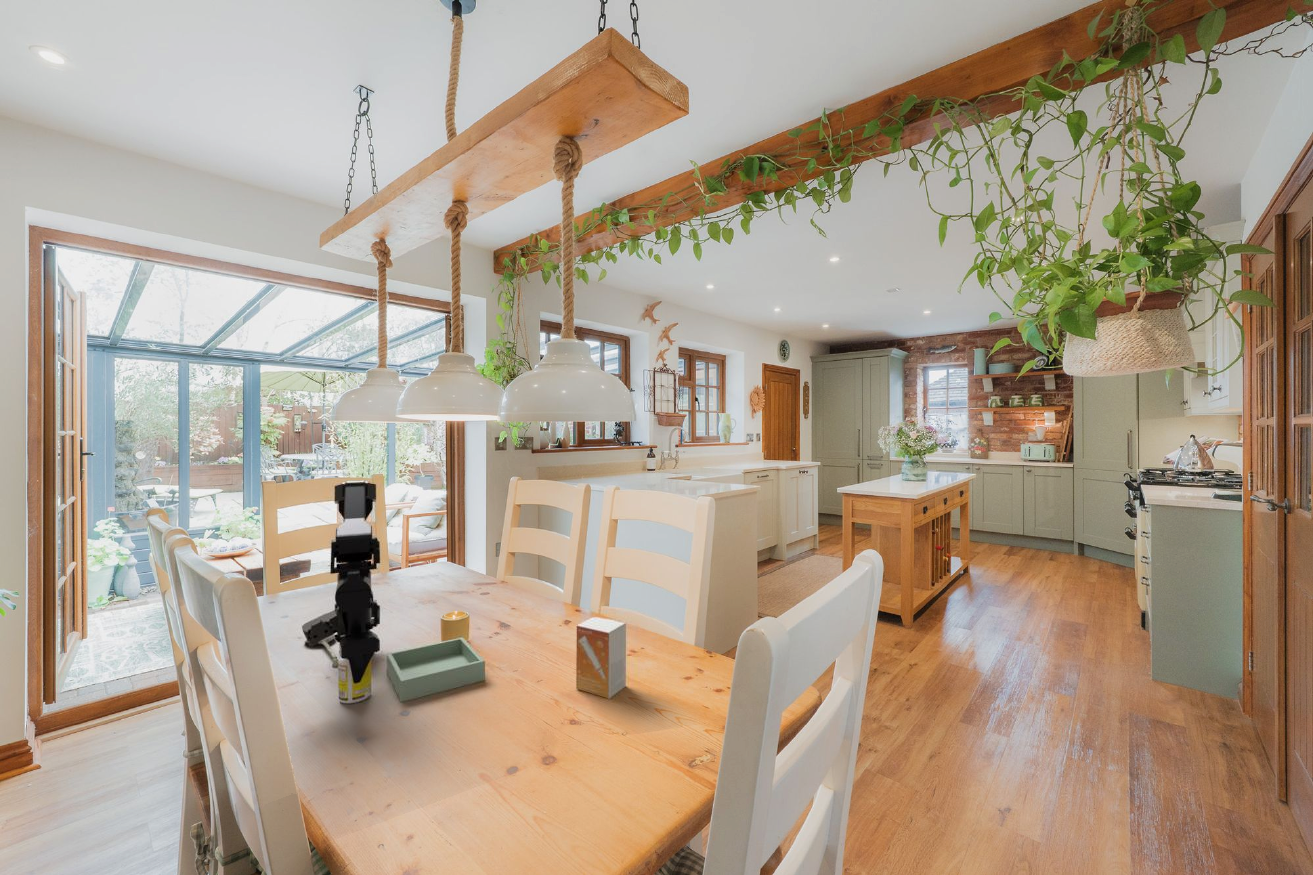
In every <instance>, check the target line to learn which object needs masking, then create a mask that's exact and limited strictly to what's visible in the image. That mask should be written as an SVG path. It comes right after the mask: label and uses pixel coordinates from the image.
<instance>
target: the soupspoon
mask: <svg viewBox="0 0 1313 875" xmlns="http://www.w3.org/2000/svg"><path fill="white" fill-rule="evenodd" d="M334 635H335V634H333V635H331V636H329V637H327V638H325V639H323V640H321V641H319V643H317V645H318V644H319V645H323V646H324V647H325V648H326V649H327V651H328V652H329V654H330V655H331V657H332V658H331V659H332V662H333V663H332V665H331V666H332V668H334V667H338V660H339V658H338V656H336V654H335V652H334V650H333V649H332V648H331V646H330V644H329V643H330V642H331V641H333V640H334V639H335V637H334ZM304 643H305V644H306V643H307V644H309V643H308V641H307V639H306V640H305V641H304Z"/></svg>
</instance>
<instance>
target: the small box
mask: <svg viewBox="0 0 1313 875" xmlns="http://www.w3.org/2000/svg"><path fill="white" fill-rule="evenodd" d="M575 658H576V667H575V668H576V669H575V670H576V671H575V673H576V676H575V677H576V678H575V680H576V681H575V682H576V684H575V689H576V690H580V691H582V692H586V693H590V694H593V695H597V696H600V697H603V698H605V699H608V700H609V699H610V698H612V697H613V696H614V695H616V694H618V693H619V692H620V691H621V690H622V689H623V690H624V688H625V687H626V686H627V623H625V622H621V621H617V620H613V619H609V618H603V617H597V616H593V617H591V618H588V619H587V620H584V621H582V622H581V623H579V624H577V625H576V657H575Z"/></svg>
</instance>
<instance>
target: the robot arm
mask: <svg viewBox="0 0 1313 875" xmlns="http://www.w3.org/2000/svg"><path fill="white" fill-rule="evenodd" d="M333 501H334V504H335V505H338V507H337V508H338V513H339V514H340V515H341V517H342V518H343V522H342V524H340V525H339V526H338V527H337V528H336V529H335V538H334V539H331V541H330V542H331V543H330V544H331V546H330V568H329V569H330V575H334V574H337V575H336V576H337V581H336V582H337V585H336V588H335V594H334V601H335V603H334V610H331V611H329V612H327V613H324V614H322V615H320V616H317V617H316V618H313V619H312V620H309V621H307V622H305V623H304V624H303V625H302V626H301V630H302V633H303V634H304V637H305V639H306V640H307V641H308V643H307V644H308V645H309V646H311V647H312V646H315V645H318V643H319V641H321V640H323V639H325V638H327V637H329V636H331V635H333V634H334V637H335V638H334V639H335V641H336V642H338V643H339V644H338V645H339V648H338V649H339V650H338V652H339V656H340V657H341V658H344V659H348V660H349V664H350V669H351V673H352V678H353V682H354V683H359V682H361V679H362V677H363V675H364V673H365V671H366V668H367V666H368V664H369V662H370V660H371V661H372V658H373V656H374V654H375V653H377V652H379V651H381V642H380V641H381V640H380V638H379V636H378V634H376V633H375V632H373V631H371V630H374V627H378V625H380V624H381V605H379V603H378V602H377V600H375V599H374V591H373V590H372V570H377V569H378V566H377V564H381V544H380V543H381V542H380V541H379V540H378V537H377V536H376V535H374V536H373V526H372V525H371V524H370V523H368V522H367V519H368V517H369V516H370V514H371V512H372V511H373V510H374V509H373V508H374V507H373V506H374V505H373V503H375V502H377V484H376V483H371V482H369V481H366V480H346V481H345V482H342V483H339V484H337V485H334V500H333ZM372 560H373V562H372ZM335 562H336V566H335Z"/></svg>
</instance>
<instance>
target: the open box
mask: <svg viewBox="0 0 1313 875" xmlns="http://www.w3.org/2000/svg"><path fill="white" fill-rule="evenodd" d="M484 659H485V658H483V657H482V656H481V655H480V654H479V652H477V651H476V649H474V648H473V647H472V645H471V644H470V643H469V642H468V641H467V640H466V639H465V638H464V637H459V638H458V637H457V638H453V639H450V640H442V641H440V642H435V643H429V644H425V645H420V646H416V647H411V648H407V649H402V650H398V651H397V650H396V651H392V652H387V653H386V673H387V675H388V678H389V679H390V682H391V684H392V686H393V688H394V690H395V692H396V694H397V696H398V698H399V700H400V702H401V703H403V702H406V701H410V700H414V699H419V698H422V697H427V696H429V695H433V694H438V693H441V692H445V691H448V690H453V689H456V688H461V687H463V686H468V685H472V684H476V683H479V682H484V681H486V661H485V660H484Z"/></svg>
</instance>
